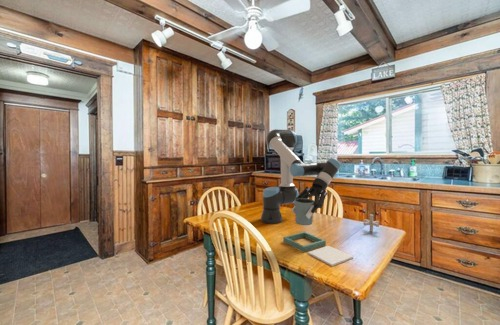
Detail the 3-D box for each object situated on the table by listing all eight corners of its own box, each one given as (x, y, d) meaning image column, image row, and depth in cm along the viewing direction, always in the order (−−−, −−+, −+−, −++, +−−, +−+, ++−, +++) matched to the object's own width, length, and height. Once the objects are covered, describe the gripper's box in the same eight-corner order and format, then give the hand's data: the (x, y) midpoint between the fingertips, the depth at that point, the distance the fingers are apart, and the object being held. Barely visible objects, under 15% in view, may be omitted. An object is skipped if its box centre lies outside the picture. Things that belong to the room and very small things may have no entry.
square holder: (283, 241, 122) (283, 237, 122) (304, 235, 129) (304, 231, 129) (303, 252, 108) (303, 247, 108) (325, 245, 116) (325, 240, 116)
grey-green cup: (299, 218, 125) (300, 197, 125) (317, 222, 119) (317, 199, 118) (291, 223, 118) (291, 200, 117) (309, 227, 111) (309, 203, 110)
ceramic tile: (308, 253, 107) (308, 252, 107) (328, 247, 114) (328, 245, 114) (332, 266, 95) (332, 264, 95) (353, 258, 102) (353, 256, 102)
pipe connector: (371, 235, 129) (371, 217, 129) (358, 229, 139) (358, 213, 139) (384, 233, 132) (385, 216, 132) (371, 227, 142) (371, 212, 141)
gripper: (342, 189, 115) (320, 225, 108) (310, 183, 135) (289, 213, 128) (335, 179, 112) (312, 215, 105) (303, 175, 132) (282, 205, 125)
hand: (299, 214), depth 116 cm, fingers closed on grey-green cup, 10 cm apart
